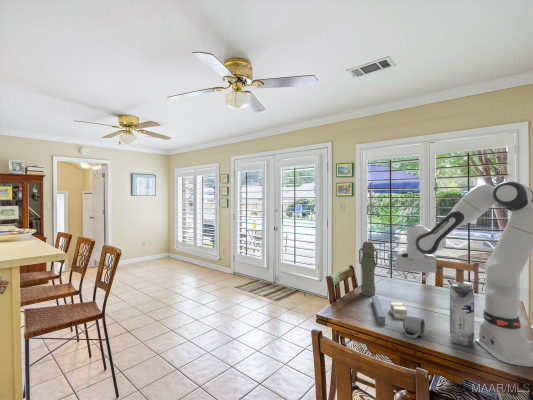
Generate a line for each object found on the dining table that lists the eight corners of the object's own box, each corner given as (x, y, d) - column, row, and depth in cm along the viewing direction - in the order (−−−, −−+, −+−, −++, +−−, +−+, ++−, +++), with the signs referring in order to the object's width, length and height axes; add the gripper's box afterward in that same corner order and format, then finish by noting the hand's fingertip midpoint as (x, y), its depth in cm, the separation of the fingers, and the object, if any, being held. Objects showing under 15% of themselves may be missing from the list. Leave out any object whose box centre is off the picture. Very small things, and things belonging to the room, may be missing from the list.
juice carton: (449, 343, 123) (449, 283, 122) (449, 333, 132) (449, 277, 131) (474, 349, 118) (474, 286, 117) (472, 338, 127) (473, 280, 126)
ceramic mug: (406, 327, 138) (406, 312, 138) (425, 332, 132) (425, 316, 132) (400, 335, 130) (400, 319, 130) (419, 341, 125) (419, 325, 124)
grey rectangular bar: (385, 324, 140) (385, 317, 140) (378, 324, 141) (378, 316, 141) (377, 302, 169) (377, 296, 169) (372, 302, 170) (372, 295, 170)
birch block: (406, 319, 147) (406, 309, 147) (394, 318, 148) (394, 309, 148) (401, 311, 157) (401, 302, 157) (390, 310, 158) (390, 302, 158)
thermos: (377, 297, 177) (377, 243, 177) (358, 294, 183) (358, 242, 182) (378, 293, 185) (378, 241, 185) (359, 290, 191) (359, 240, 190)
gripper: (434, 254, 150) (434, 279, 151) (394, 251, 156) (393, 275, 156) (438, 256, 144) (438, 282, 145) (396, 254, 150) (395, 279, 150)
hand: (414, 279), depth 151 cm, fingers open, 8 cm apart
